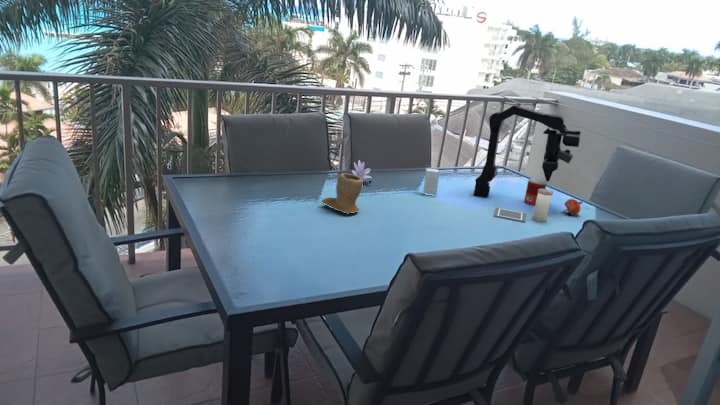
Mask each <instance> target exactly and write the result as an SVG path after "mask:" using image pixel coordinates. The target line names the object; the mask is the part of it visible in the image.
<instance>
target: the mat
mask: <svg viewBox="0 0 720 405" xmlns="http://www.w3.org/2000/svg"><path fill="white" fill-rule="evenodd" d="M493 218H500V219H504V220H510V221H515V222H520V223H523V224H525V223H526V221H527V213H526V212H521V211H516V210H510V209H505V208H500V207H495V210H494V213H493Z"/></svg>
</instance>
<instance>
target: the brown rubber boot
mask: <svg viewBox="0 0 720 405" xmlns="http://www.w3.org/2000/svg"><path fill="white" fill-rule="evenodd" d="M363 182H364V180H363V179H361V178H360V177H358V176H356V175H354V174H353V173H346V172H343V173H341V174H339V175H338V176H337V182H336V197H326V198H324V199H322V200H321V201H320V203H321V202H323V203H325V204H327V205H329V206H331V207H333V208H335V209H337V210H339V211H341V212H345V213H351V212H356V211H358V210H359V211H360V208H359V207H358V206H357V204H356V203H357V202H356V201H357V200H358V198H359V195H360V194H361V192H362V188H363ZM359 211H358V212H359ZM341 212H340V213H341Z"/></svg>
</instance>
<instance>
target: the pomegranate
mask: <svg viewBox="0 0 720 405" xmlns="http://www.w3.org/2000/svg"><path fill="white" fill-rule="evenodd" d="M581 204H583V201H578V200H576V199H574V198H573V199H572V198H569V199H567V201H565V202H564V206H565V207H566V209H564V210H563V211H560V213H563V212H566V211H568V213H569V214H570V215H571V216H576V215H578V214H580V211H581V209H582V208H581Z"/></svg>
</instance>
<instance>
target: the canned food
mask: <svg viewBox="0 0 720 405" xmlns="http://www.w3.org/2000/svg"><path fill="white" fill-rule="evenodd" d="M547 182H548V181H546V180H544V179H540V178H533V177H532V178H529V179H528V182H527V186H526V190H525V196H524V203H525V204H528V205H531V206H535V204H536V200H537V195H538V189H547V188H546V187H547Z"/></svg>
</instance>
